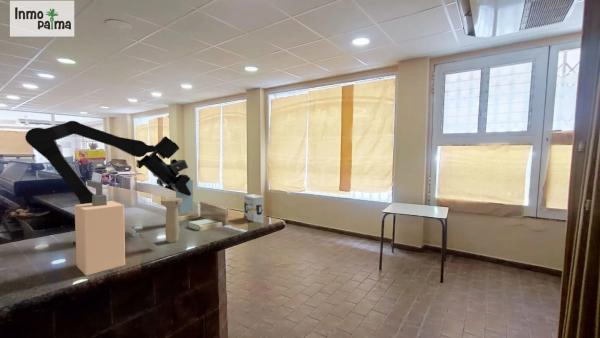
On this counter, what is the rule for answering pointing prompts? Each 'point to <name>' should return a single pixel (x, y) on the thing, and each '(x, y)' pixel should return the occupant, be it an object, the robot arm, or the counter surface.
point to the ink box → (253, 208)
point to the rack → (209, 215)
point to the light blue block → (186, 199)
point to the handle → (172, 218)
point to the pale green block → (200, 223)
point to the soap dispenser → (99, 233)
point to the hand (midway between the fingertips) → (187, 194)
